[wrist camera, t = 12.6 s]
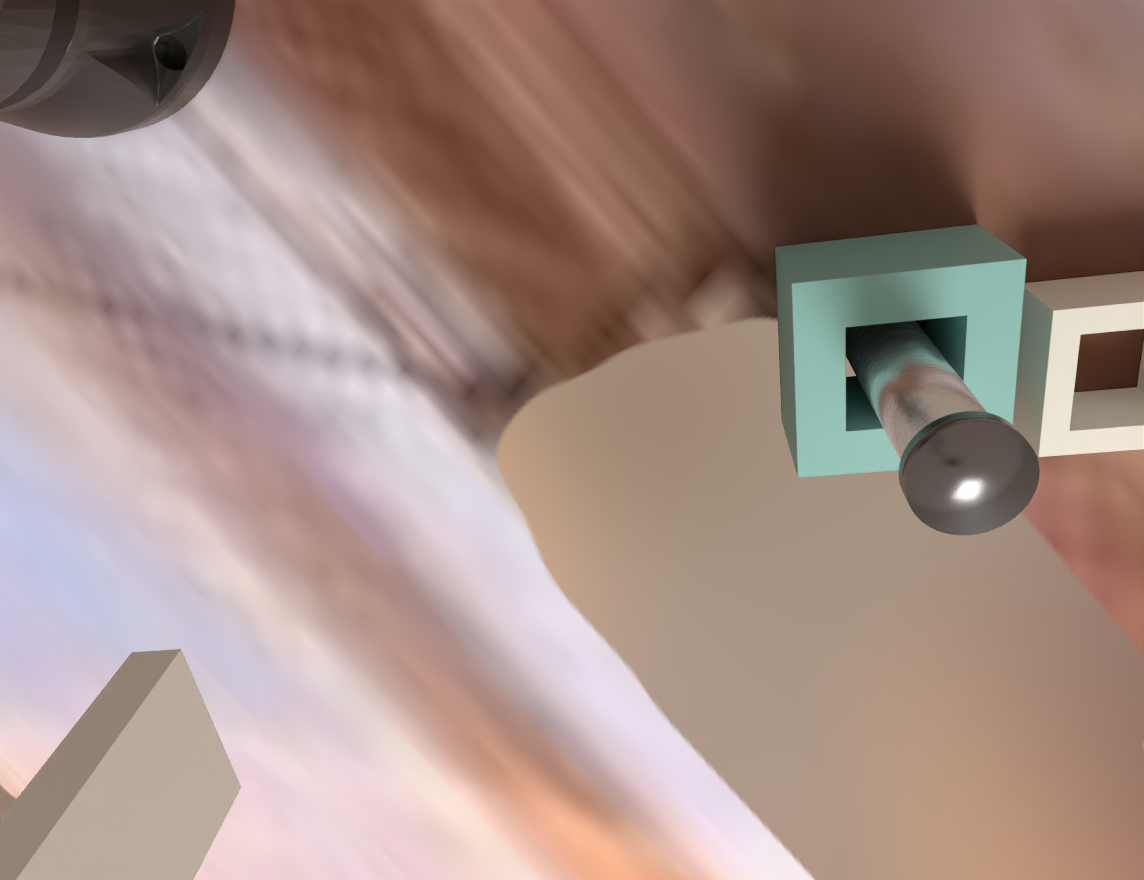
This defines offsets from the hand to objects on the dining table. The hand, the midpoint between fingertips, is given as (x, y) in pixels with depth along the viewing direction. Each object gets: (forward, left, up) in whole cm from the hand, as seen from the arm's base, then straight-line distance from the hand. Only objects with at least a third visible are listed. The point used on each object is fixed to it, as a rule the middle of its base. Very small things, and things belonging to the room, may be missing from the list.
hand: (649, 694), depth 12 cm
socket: (+10, -7, -32) cm, 34 cm away
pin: (+10, -7, -32) cm, 34 cm away
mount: (+20, -9, -32) cm, 39 cm away
